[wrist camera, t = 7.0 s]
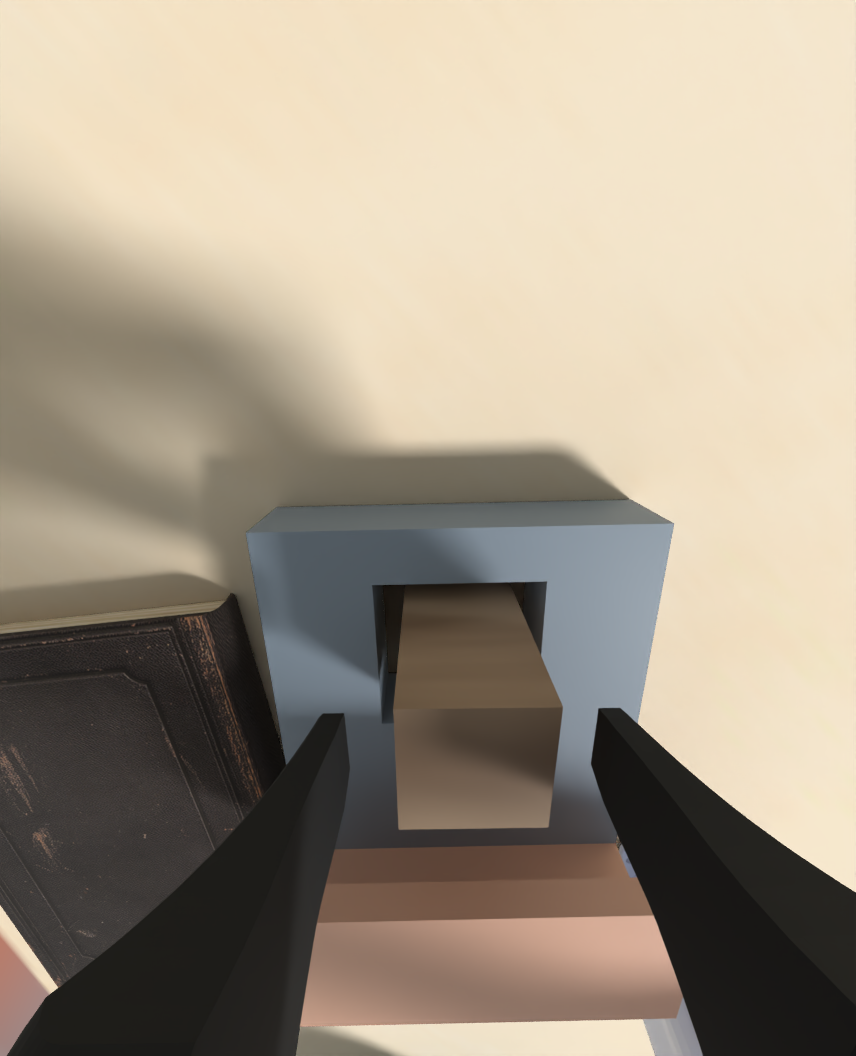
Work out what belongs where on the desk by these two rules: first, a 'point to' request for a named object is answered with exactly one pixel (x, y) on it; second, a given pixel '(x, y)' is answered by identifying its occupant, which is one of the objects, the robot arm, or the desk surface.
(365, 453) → the desk surface
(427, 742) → the walnut peg
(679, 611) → the desk surface
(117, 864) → the hardcover book
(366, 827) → the socket block
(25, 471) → the desk surface
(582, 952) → the salmon pink block
